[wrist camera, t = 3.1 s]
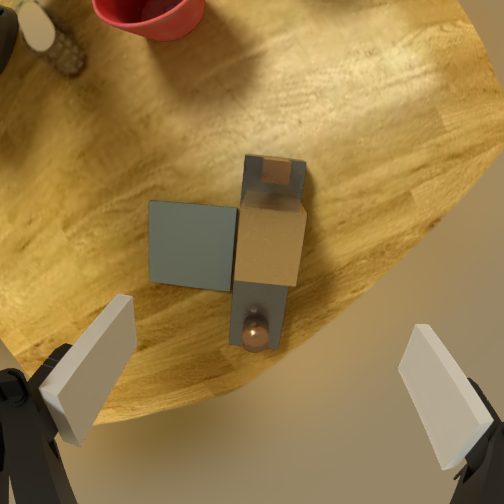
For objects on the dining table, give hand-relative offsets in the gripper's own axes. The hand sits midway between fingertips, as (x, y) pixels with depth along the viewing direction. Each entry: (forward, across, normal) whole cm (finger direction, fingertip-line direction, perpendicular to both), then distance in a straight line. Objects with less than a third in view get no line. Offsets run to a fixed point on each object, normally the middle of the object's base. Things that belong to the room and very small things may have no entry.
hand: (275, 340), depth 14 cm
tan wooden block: (+20, 0, 0) cm, 20 cm away
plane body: (+23, 0, -4) cm, 23 cm away
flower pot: (+23, -14, +24) cm, 35 cm away
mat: (+23, -9, -4) cm, 25 cm away
